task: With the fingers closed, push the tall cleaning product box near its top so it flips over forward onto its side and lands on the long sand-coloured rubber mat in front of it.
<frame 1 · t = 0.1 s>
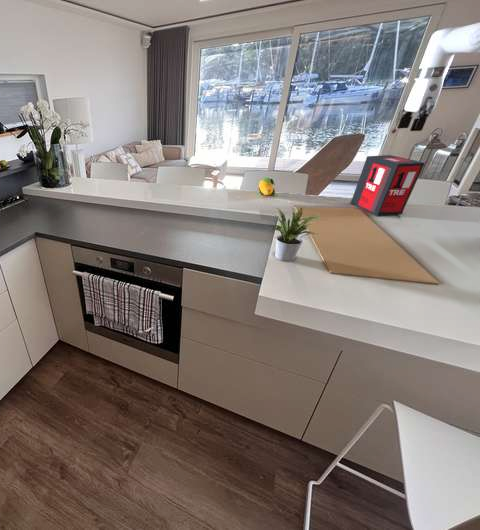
hand: (408, 129, 106), 30 cm above the countertop, tool pointing down, fingers open, 9 cm apart
house plant: (287, 260, 89), on the countertop
cleaning product box: (374, 209, 120), on the countertop
mat: (373, 267, 82), on the countertop
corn: (266, 194, 146), on the countertop
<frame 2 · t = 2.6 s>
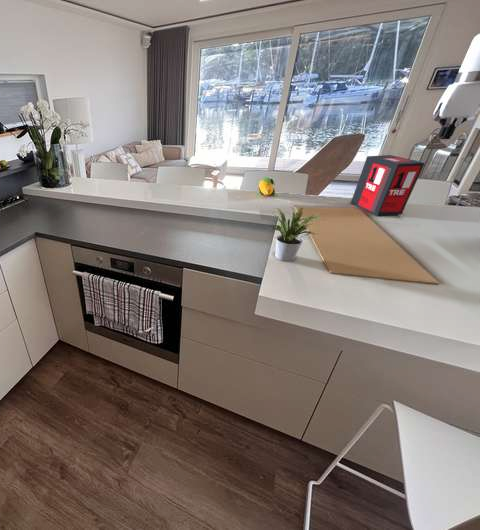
hand: (443, 138, 103), 27 cm above the countertop, tool pointing down, fingers closed
nothing on the countertop moved.
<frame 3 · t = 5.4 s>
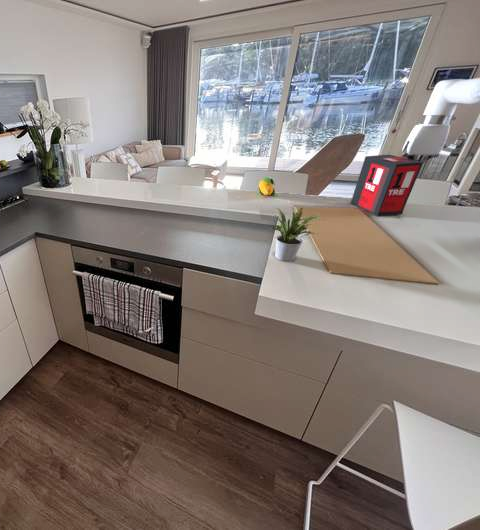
hand: (411, 173, 111), 15 cm above the countertop, tool pointing down, fingers closed
nothing on the countertop moved.
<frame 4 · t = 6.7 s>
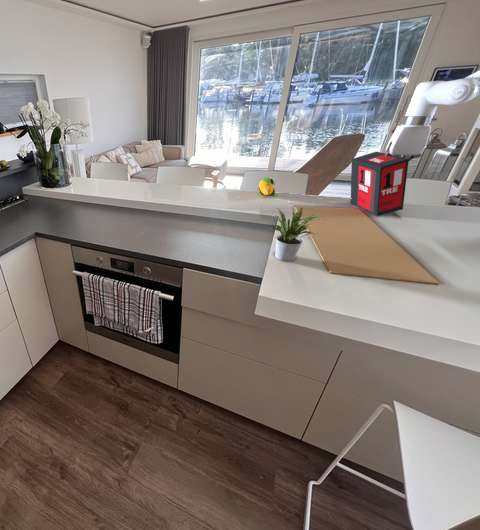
hand: (395, 173, 112), 15 cm above the countertop, tool pointing down, fingers closed
cleaning product box: (374, 206, 120), point 1 cm above the countertop
everything else where it was.
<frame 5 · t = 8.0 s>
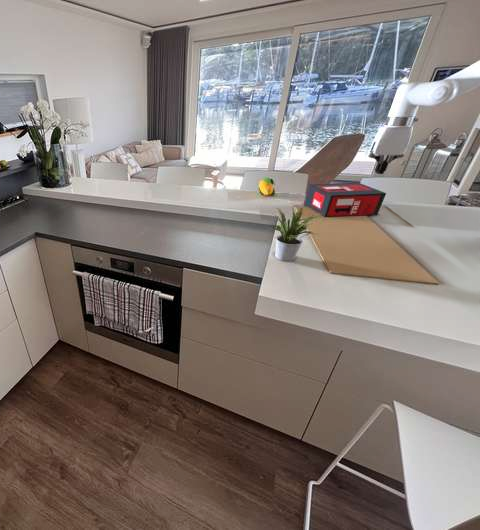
hand: (378, 173, 114), 15 cm above the countertop, tool pointing down, fingers closed
cleaning product box: (367, 198, 118), point 5 cm above the countertop, touching mat
everything else where it was.
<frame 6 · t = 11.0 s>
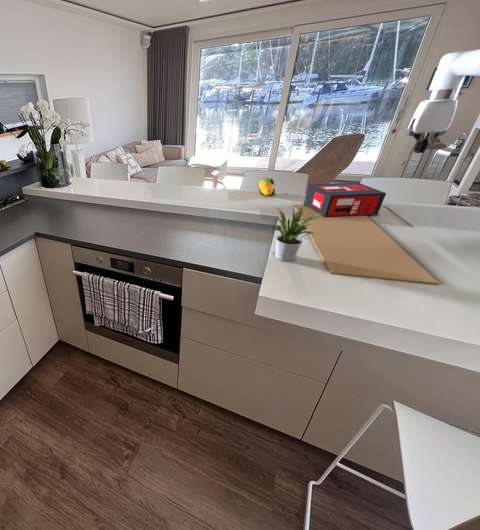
hand: (418, 152, 107), 22 cm above the countertop, tool pointing down, fingers closed
nothing on the countertop moved.
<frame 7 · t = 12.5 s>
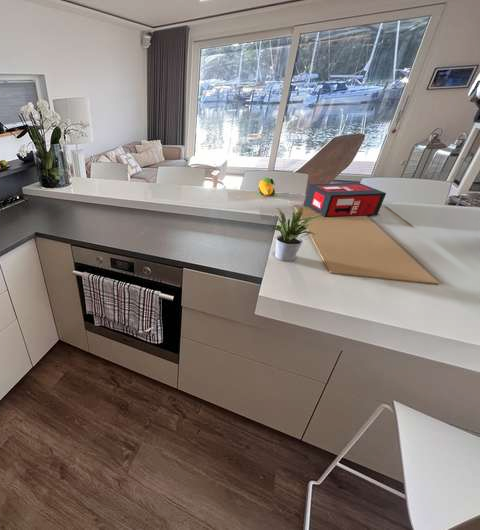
hand: (479, 122, 91), 33 cm above the countertop, tool pointing down, fingers closed
nothing on the countertop moved.
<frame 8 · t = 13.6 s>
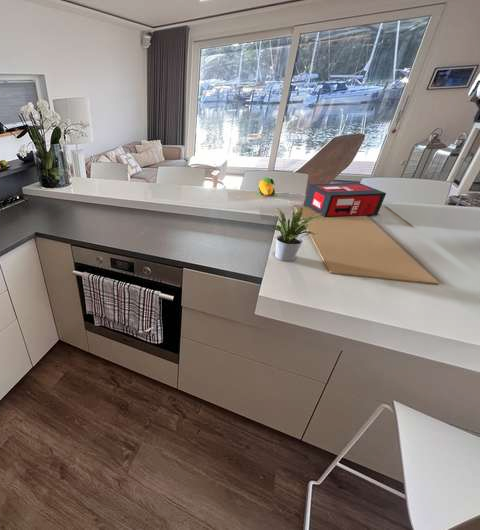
hand: (479, 122, 91), 33 cm above the countertop, tool pointing down, fingers closed
nothing on the countertop moved.
at the end: cleaning product box tilted 90°; cleaning product box touching mat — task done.
